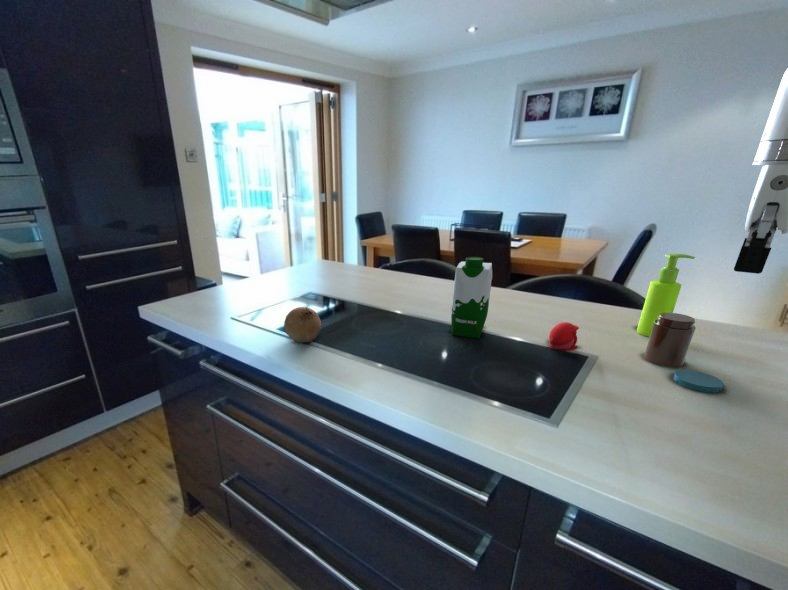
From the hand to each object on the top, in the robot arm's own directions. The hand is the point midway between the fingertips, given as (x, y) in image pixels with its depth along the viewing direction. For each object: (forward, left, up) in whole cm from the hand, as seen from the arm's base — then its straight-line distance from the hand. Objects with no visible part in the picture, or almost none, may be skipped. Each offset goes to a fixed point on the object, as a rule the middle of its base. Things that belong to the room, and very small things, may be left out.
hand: (748, 266), depth 65 cm
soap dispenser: (+2, -29, -23) cm, 37 cm away
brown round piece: (+83, +8, -23) cm, 87 cm away
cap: (+23, -11, -23) cm, 35 cm away
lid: (+1, 0, -22) cm, 22 cm away
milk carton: (+45, -13, -23) cm, 52 cm away
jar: (+4, -10, -23) cm, 26 cm away
